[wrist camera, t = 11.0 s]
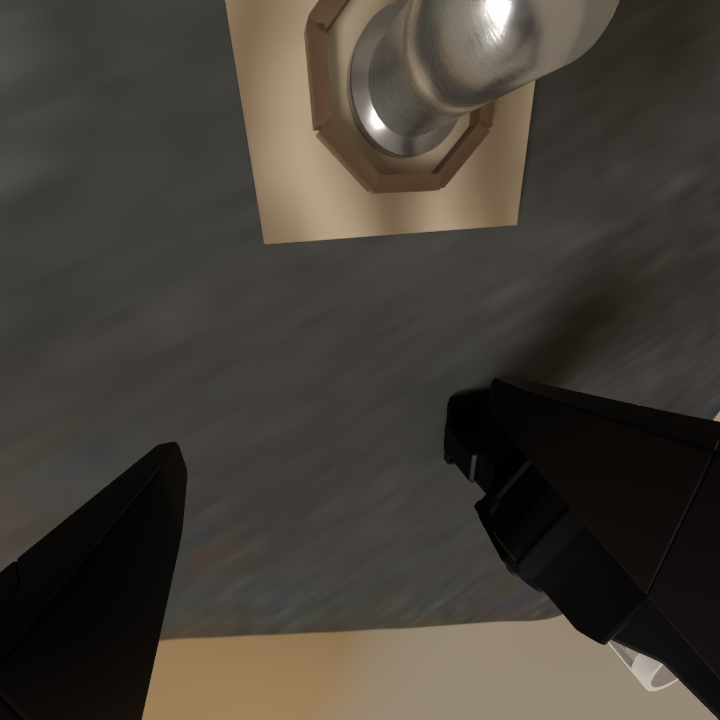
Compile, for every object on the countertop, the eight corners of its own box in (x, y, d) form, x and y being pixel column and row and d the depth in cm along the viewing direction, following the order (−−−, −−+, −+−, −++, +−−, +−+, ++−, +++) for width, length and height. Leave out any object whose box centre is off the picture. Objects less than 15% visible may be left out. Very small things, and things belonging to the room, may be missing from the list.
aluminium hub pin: (459, 16, 16) (693, -214, 8) (452, 157, 19) (623, 105, 10) (341, 7, 15) (460, -287, 6) (350, 160, 18) (445, 102, 9)
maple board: (541, -74, 17) (574, -108, 15) (506, 224, 23) (527, 225, 21) (204, -131, 13) (195, -185, 11) (264, 243, 19) (264, 245, 17)
